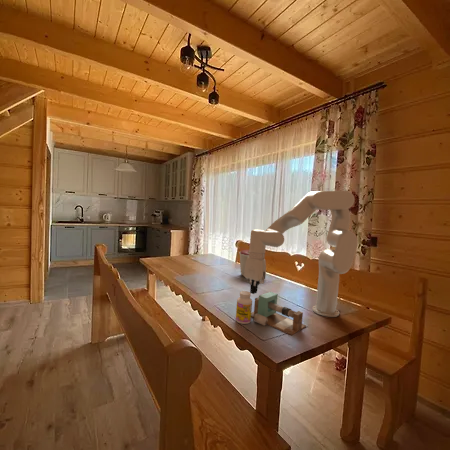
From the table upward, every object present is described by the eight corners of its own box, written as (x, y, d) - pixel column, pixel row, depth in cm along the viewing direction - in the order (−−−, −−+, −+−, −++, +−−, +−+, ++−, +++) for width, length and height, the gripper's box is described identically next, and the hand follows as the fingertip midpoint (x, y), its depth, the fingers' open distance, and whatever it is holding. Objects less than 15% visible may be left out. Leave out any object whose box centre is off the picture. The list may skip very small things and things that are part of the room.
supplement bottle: (233, 322, 112) (235, 293, 111) (238, 316, 118) (240, 289, 117) (248, 325, 110) (250, 296, 108) (252, 319, 116) (254, 291, 115)
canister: (256, 272, 197) (258, 244, 195) (267, 279, 180) (269, 249, 178) (233, 272, 191) (235, 244, 190) (243, 280, 174) (245, 249, 173)
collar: (269, 309, 124) (270, 291, 123) (276, 312, 121) (277, 294, 120) (257, 314, 118) (258, 295, 117) (264, 317, 115) (266, 298, 114)
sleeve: (255, 323, 115) (259, 316, 116) (264, 327, 111) (268, 320, 113) (252, 318, 113) (256, 311, 114) (261, 322, 109) (266, 315, 111)
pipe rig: (263, 308, 128) (264, 293, 128) (305, 326, 112) (307, 309, 112) (247, 315, 120) (248, 299, 119) (291, 335, 104) (293, 317, 103)
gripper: (239, 253, 126) (236, 289, 127) (264, 259, 115) (261, 299, 117) (249, 251, 131) (246, 287, 132) (274, 257, 120) (270, 296, 122)
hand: (253, 292), depth 124 cm, fingers closed
